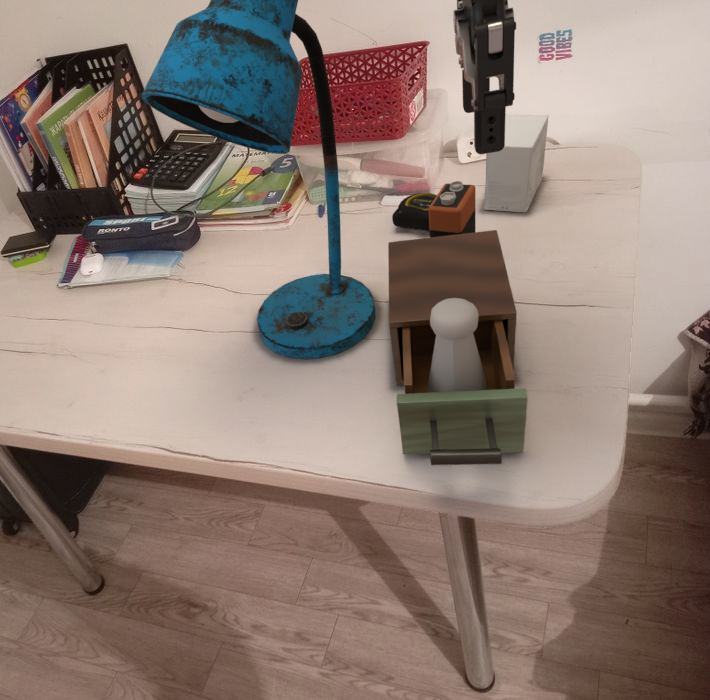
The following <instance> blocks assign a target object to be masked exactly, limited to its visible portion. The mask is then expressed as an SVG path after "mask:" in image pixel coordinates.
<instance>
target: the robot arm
mask: <svg viewBox="0 0 710 700" xmlns="http://www.w3.org/2000/svg"><path fill="white" fill-rule="evenodd" d="M514 12H515V11H514V8H513V7H509V0H456V9H453V13H452V14H453V15H452V20H453V29H454V43H455V52H456V53H455V54H456V55H458V56H459V57H458V65H459V66H460V67H459V68H460V69H462V70H461V78H462V79H461V81H462V83H461V84H462V108H463V111H464V112H465V113H466V114H470V113H471V114H473V137H474V138H473V141H474V142H473V145H474V151H475V153H476V154H478V155H485V154H486V153H493V152H498V151H501V150H502V149H503V148H504V146H505V115H506V112H507V111H506V109H507V107H512V106H513V105H514V100H515V92H514V83H515V82H514V81H515V80H514V78H515V39H516V37H515V35H516V32H515V31H516V30H517V22H516V21H515V13H514ZM491 78H497V80H498V89H494V90H490V89H491Z"/></svg>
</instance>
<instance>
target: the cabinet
mask: <svg viewBox="0 0 710 700" xmlns="http://www.w3.org/2000/svg"><path fill="white" fill-rule="evenodd" d="M387 243H388V245H387V246H388V247H387V249H388V255H387V258H388V327H389V335H390V343H391V351H392V360H393V369H394V379H395V385H396V386H404V366H403V335H402V327H410V326H423V325H430V317H431V311H432V308H433V307H434V306H435V305H436V304H437V303H439V302H441V301H443V300H445V299H449V298H460V299H465V300H467V301H469V302H471V303H473V304H474V306H475V307H476V308H477V310H478V314H479V316H478V321H489V320H502V321H503V326H504V331H505V335H506V340H507V345H508V349H509V354H510V359H511V363H512V368H513V373H514V372H515V353H516V336H517V334H516V333H517V314H518V312H517V308H516V304H515V299H514V296H513V291H512V286H511V283H510V280H509V275H508V271H507V267H506V263H505V258H504V255H503V249H502V246H501V242H500V238H499V234H498V230H497V229H493V230H484V231H483V230H482V231H475V232H474V233H466V234H457V235H448V236H439V237H431V238H430V237H424V238H414V239H405V240H397V241H389V242H387ZM514 374H515V373H514Z"/></svg>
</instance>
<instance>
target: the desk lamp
mask: <svg viewBox="0 0 710 700" xmlns="http://www.w3.org/2000/svg"><path fill="white" fill-rule="evenodd" d="M298 3H299V0H209V3H208V5H207V6H206V7H205V9H202V10H200V11H198V12H196V13H194V14H192V15H189V16H188V17H185V18H184V19H182V20H180V21H179V22H177V23H176V25H175V27H174V29H173V31H172V33H171V35H170V37H169V39H168V41H167V43H166V45H165V47H164V49H163V51H162V53H161V54H160V57H159V59H158V61H157V63H156V65H155V67H154V68H153V71H152V72H151V74H150V77H149V79H148V81H147V83H146V84H145V87H144V89H143V91H142V93H141V100H142V101H144V103H146V104H147V105H148V106H150V107H151V108H153V109H154V110H155V111H157V112H159V113H161V114H162V115H164V116H166V117H168V118H170V119H171V120H174V121H176V122H178V123H180V124H182V125H184V126H186V127H189V128H191V129H194V130H195V131H198V132H201V133H203V134H206V135H208V136H212V137H214V138H216V139H219V140H222V141H225V142H228V143H231V144H234V145H237V146H241V147H243V148H248V149H250V150H255V151H259V152H262V153H263V152H264V153H268V154H274V155H287V154H288V153H291V145H292V139H293V134H294V129H295V128H294V127H295V123H296V121H295V120H296V116H297V109H298V103H299V97H300V93H301V92H300V91H301V85H302V80H303V68H302V66H301V64H300V61H299V59H298V57H297V55H296V53H295V51H294V49H293V47H292V44H291V36H292V33H293V34H295V36H297V38H298V39H299V40H300V42H302V44H303V47H304V49H305V52H306V54H307V57H308V63H309V68H310V71H311V75H312V81H313V85H314V93H315V99H316V105H317V112H318V113H317V114H318V120H319V130H320V131H319V132H320V140H321V148H322V150H321V151H322V157H323V167H324V180H325V183H324V185H325V202H326V216H327V217H326V219H327V248H328V273H320V274H311V275H306V276H303V277H300V278H296V279H294V280H292V281H289V282H287V283H285V284H283V285H281V286H280V287H278V288H276V289H275V290H273V291H272V292H271V293H270V294H269V295H268V296H267V297H266V298H265V299H264V300H263V302H262V304H261V305H260V307H259V309H258V313H257V317H256V322H257V327H258V331H259V335H260V339H261V340H262V342H263V343H264V345H265V346H266V347H267V348H268V349H269V350H271V351H273V352H274V353H276V354H278V355H280V356H283V357H286V358H290V359H299V360H311V359H312V360H313V359H322V358H326V357H331V356H334V355H337V354H340V353H342V352H344V351H346V350H348V349H351V348H353V347H354V346H355V345H357V344H358V343H360V342H361V341H362V340H363V339H364V338H366V336H367V335H368V334H369V333H370V331H371V330H372V328H373V327H374V323H375V321H376V317H377V315H376V311H377V310H376V305H375V303H376V302H375V298H374V296H373V293H372V292H371V290H370V288H369V287H368V286H366V285H365V284H364V283H363V282H362V281H360V280H358V279H355V278H354V277H352V276H347V275H343V274H342V242H341V241H342V238H341V236H342V234H341V233H342V231H341V204H340V184H339V183H340V182H339V181H340V180H339V165H338V155H337V154H338V153H337V142H336V133H335V132H336V131H335V123H334V122H335V121H334V111H333V104H332V103H333V102H332V96H331V89H330V81H329V76H328V70H327V66H326V61H325V57H324V51H323V48H322V45H321V42H320V40H319V37H318V34H317V33H316V31H315V30H314V29H313V27H312V25H310V23H308V21H307V20H306V19H305V18H303V17H302V16H300V15H298V14H297V9H298V8H297V7H298Z"/></svg>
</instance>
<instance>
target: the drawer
mask: <svg viewBox="0 0 710 700" xmlns="http://www.w3.org/2000/svg"><path fill="white" fill-rule="evenodd" d="M473 334H474V338H475V342H476V345H477V349H478V353H479V357H480V361H481V364H482V368H483V372H484V376H485V379H486V383H487V388H486V390H475V391H454V392H432V393H428V391H427V388H428V381H429V375H430V369H431V363H432V357H433V351H434V346H435V340H436V334H435V333H434V331H433V329H432V328H431V325H423V326H410V327H402V335H403V366H404V385H403V387H404V393H397V394H396V407H397V415H398V416H397V417H398V424H399V433H400V440H401V449H402V455H429V457H430V466H473V465H474V466H475V465H485V466H486V465H502V463H503V457H502V454H503V453H524V450H525V439H526V437H525V435H526V425H527V424H526V423H527V413H528V402H529V401H528V399H529V397H528V393H527V388H526V387H523V388H522V387H521V388H515V385H516V377H515V373H513V368H512V363H511V359H510V354H509V349H508V345H507V340H506V335H505V331H504V326H503V321H502V320H489V321H478V326H477V328H476V330H475V331H474V332H473Z"/></svg>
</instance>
